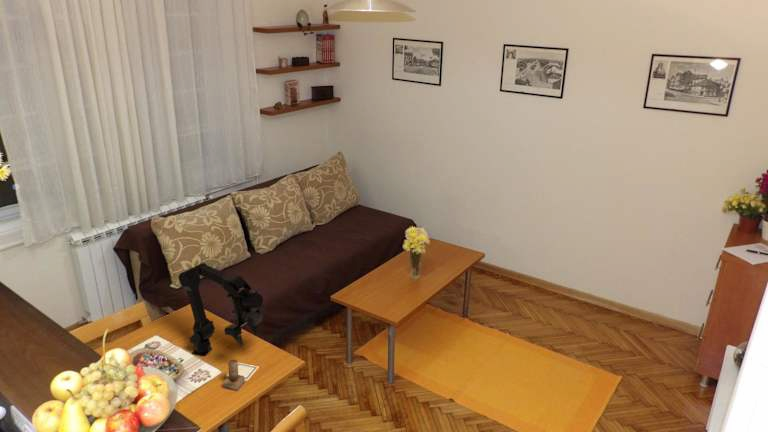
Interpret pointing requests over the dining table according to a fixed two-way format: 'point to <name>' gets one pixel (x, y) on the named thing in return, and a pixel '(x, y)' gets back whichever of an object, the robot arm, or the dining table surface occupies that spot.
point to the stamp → (233, 377)
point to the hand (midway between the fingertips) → (248, 340)
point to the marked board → (246, 370)
